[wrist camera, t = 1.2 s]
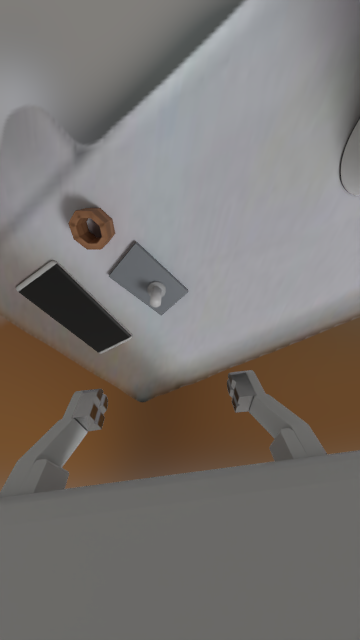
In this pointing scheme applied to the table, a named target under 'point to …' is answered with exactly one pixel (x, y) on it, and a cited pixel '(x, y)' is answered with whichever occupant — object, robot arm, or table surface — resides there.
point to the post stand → (148, 280)
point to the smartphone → (73, 307)
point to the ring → (82, 231)
